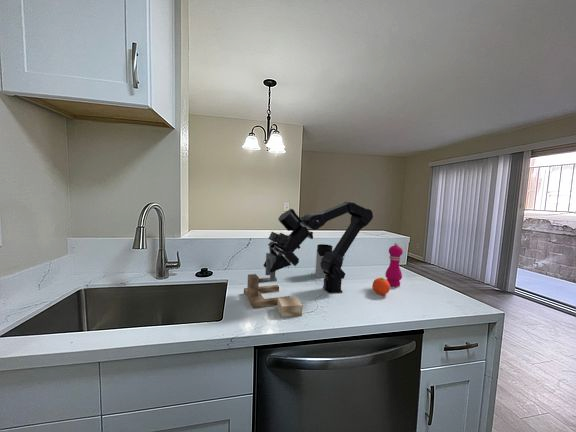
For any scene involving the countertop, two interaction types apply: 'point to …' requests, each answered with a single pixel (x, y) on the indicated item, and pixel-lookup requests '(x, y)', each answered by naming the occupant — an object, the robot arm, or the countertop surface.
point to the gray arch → (270, 265)
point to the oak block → (289, 306)
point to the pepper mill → (394, 266)
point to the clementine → (381, 286)
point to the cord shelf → (260, 291)
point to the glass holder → (320, 254)
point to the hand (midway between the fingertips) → (267, 269)
